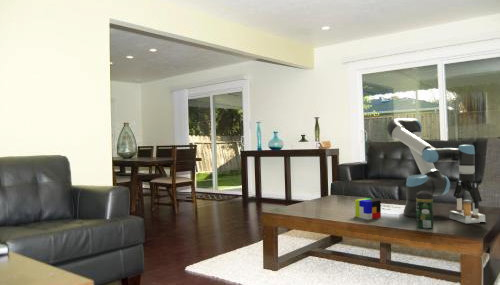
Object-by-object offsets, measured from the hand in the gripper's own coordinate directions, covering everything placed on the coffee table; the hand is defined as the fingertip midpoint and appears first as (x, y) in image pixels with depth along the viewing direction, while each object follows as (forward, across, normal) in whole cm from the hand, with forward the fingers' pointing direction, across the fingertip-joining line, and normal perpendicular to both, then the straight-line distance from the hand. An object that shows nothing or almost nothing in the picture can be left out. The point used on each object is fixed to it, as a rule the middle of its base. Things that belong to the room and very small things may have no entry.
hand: (467, 212), depth 214 cm
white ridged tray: (+5, +1, 0) cm, 5 cm away
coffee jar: (+5, -9, +30) cm, 32 cm away
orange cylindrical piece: (+5, 0, 0) cm, 5 cm away
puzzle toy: (+5, +20, +48) cm, 52 cm away
